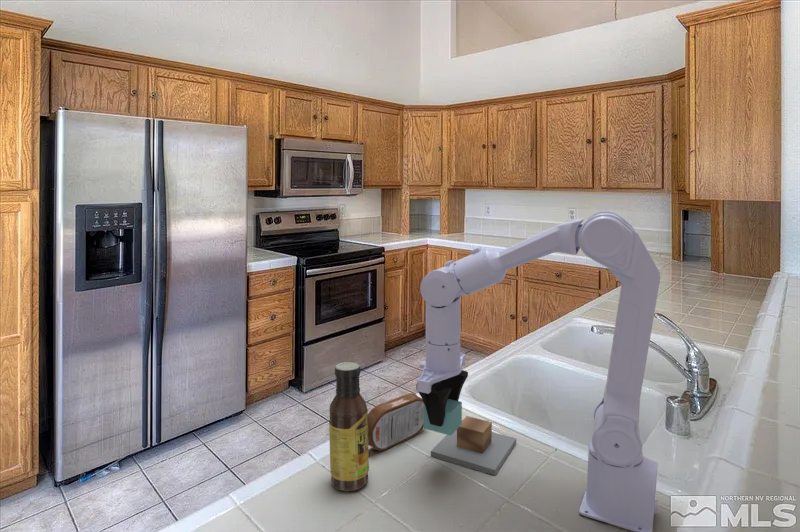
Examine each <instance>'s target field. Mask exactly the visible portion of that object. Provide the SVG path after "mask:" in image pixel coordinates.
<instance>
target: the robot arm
mask: <svg viewBox="0 0 800 532" xmlns="http://www.w3.org/2000/svg"><path fill="white" fill-rule="evenodd" d="M585 219H586V216H585V217H580V218H577V219H573V220H569V221H567V222H563V223H559V224H557V225H554V226H552V227H550V228H548V229H546V230H544V231H541V232H539V233H537V234H535V235H532V236H530V237H529V238H525V239H524V240H522V241H520V242H518V243H515V244H513V245H511V246H509V247H507V248H504V249H503V250H498V249H495V248H492V247H490V246H489V247H488V246H487V247H485V248H482V246H478V247H475V248H473V249H472V250H471V254H469V255H466V256H465V257H462V258H460V259H457V260H456V261H455V260H453V259H451V260H449V261H446V262H445V266H442V267H440V268H437V269H432V270H431V271H430V272H429V273H427V274H426V275H425V276H424V277H423V279H422V280H421V281H420V290H419V291H420V294H421V297H422V299H423V300H424V302H425V360H423V361H421V362H419V368H420V369H422V372H421V374H420V377H419V378H417V379H416V387H415V389H416V391H417V392H418V394H419V397H420V398H422V399H423V402H424V404H425V407H426V410H427V414H428V418H429V422H430V424H432V425H436V426H440V427H441V426H442V425H443V422H444V417H445V408H446V403H447V399H451V400H455V401H459V400H460V396H461V392H462V388H463V387H464V384H465V383H466V382H465V381H466V380H467V379H468V377H469V372H468V371H467V370H463V368H462V367H464V366H465V365H466V354H465V353H461V318H462V317H461V297H462V296H470V295H472V294H474V293H477V292H479V291H483V290H485V289H487V288H490V287H492V286H494V285H497V284H500V283H501V282H503V281H504V280H505V278H506V274H507V271H508V270H511V269H514V268H516V267H519V266H522V265H524V264H526V263H530V262H533V261H535V260H537V259H540V258H543V257H545V256H548V255H551V254H554V253H563V254H568V255H573V256H574V255H575V256H577V254H578V253H579V251H580V249H581V251H582V253H583V254H584V255H585V256H586V257H588V258H589V259H591V260H592V261H594V262H596V263H598V264H600V265H602V266H603V267H604V268H606V269H608V271H609V272H610V273H611V274H612V275H613V276H614V277H615V278H616V279H617V281H618V282H620V284H621V285H620V291H619V299H618V305H617V311H616V317H615V324H614V331H613V337H612V343H611V350H610V357H609V362H608V370H607V375H606V376H607V377H606V383H605V385H604V386H605V387H604V391H603V396H602V399H601V400H600V402H598V403H597V405H596V407H595V409H594V412H593V418H594V424H593V426H594V427H593V434H592V437H591V440H590V442H589V443H588V454H587V455H588V456H587V473H586V475H587V476H586V489H585V492H584V495H583V498H582V500H581V503H580V506H579V509H578V513H579V515H581V516H584V517H587V518H590V519H593V520H596V521H600V522H604V523H607V524H610V525H613V526H616V527H618V528H623V529H625V530H628V531H632V532H653V526H654V518H655V516H654V515H657V513H658V501H659V500H657V499H656V495H657V494H656V492H657V483H658V482H657V480H658V479H657V478H658V466H659V463H658V462H657V461H655V460H652V459H650V458H648V457H645V456H644V454H643V444H642V443H643V442H642V440H641V433H640V426H639V424H640V404H641V395H642V390H643V389H642V388H643V383H644V377H645V371H646V366H647V360H648V354H649V347H650V341H651V335H652V329H653V324H654V323H653V322H654V316H655V313H656V312H655V311H656V305H657V300H658V294H659V287H660V283H661V272H660V269H659V268H658V266H657V264H656V263H655V261H654V259H653V258H652V256H651V254H650V252H649V251H648V249H647V246H645V244H644V242H643V240H642V238H641V237H640V234H639V233H638V231H637V230H636V229H635V228H634V227H633V226H632V224H631V223H629V222H628V221H627V220H625V219H624V218H623V217H622V216H620V215H619V214H617V213H615V212H614V211H613V212H612V211H606V210H605V211H599V212H596V213H593V214H591V216H589V217H588V218H587V219H586V221H584V220H585ZM583 221H584V223H583Z"/></svg>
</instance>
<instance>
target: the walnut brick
mask: <svg viewBox="0 0 800 532" xmlns="http://www.w3.org/2000/svg"><path fill="white" fill-rule="evenodd" d="M492 426H493V422H492V421H489V420H484V419H480V418H476V417H473V416H468V415H466V416H465V417H464V418H462V424H461V425H460V426H459V427H458V429H457V447H461V448H464V449H468V450H471V451H475V452H478V453H482V454H483V453H484V451H485V450H486V449H487V447H488V446H489V445H490V444H491V441H492V430H493V427H492Z"/></svg>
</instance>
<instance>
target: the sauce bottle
mask: <svg viewBox="0 0 800 532" xmlns="http://www.w3.org/2000/svg"><path fill="white" fill-rule="evenodd" d="M360 375H361V365H360V364H359V363H358V362H357V363H356V362H352V361H344V362H340V363H338V364H336V365H335V367H334V376H335V379H336V381H335V383H336V388H335V396H334V398H333V399H332V401H331V403H330V405H329V421H328V422H329V423H328V425H329V428H328V429H329V431H328V432H329V461H330V463H329V465H330V467H329V468H330V477H331V478H330V480H331V484H332V486H333V487H334V488H335V489H336V490H338V491H343V492H350V491H351V492H352V491H357V490H359V489H361V488H363V487H364V486H365V485H366V484H367V483H368V480H369V471H370V469H369V468H370V465H369V464H370V463H369V462H370V459H369V458H370V457H369V445H368V413H369V412H368V410H369V409H368V406H367V405H368V404H367V402H366V400H365V398H363V396H362V395H361V393H360V392H361V387H360Z"/></svg>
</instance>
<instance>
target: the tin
mask: <svg viewBox="0 0 800 532" xmlns="http://www.w3.org/2000/svg"><path fill="white" fill-rule="evenodd" d="M424 405H425V404H424V402H423V399H422V397H421V396H419V395H417V394H416V393H412V392H411V393H410V392H409V393H406V394H403V395H401V396H398V397H395V398H393V399H390V400H387V401H385V402H381V403H379V404H377V405H375V406H374V407H373V408H372V409H371V410H370V411H369V412H368V447H371V448H372V449H373V450H376V451H378V452H379V451H380V452H381V451H386V450H388V449H391V448H393V447H394V446H397V445H399V444H401V443H403V442H405V441H407V440H410V439H412V438H414V437H415V436H417V435H419V433H421V432H422V430H423V429H424V428H423V406H424Z"/></svg>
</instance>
